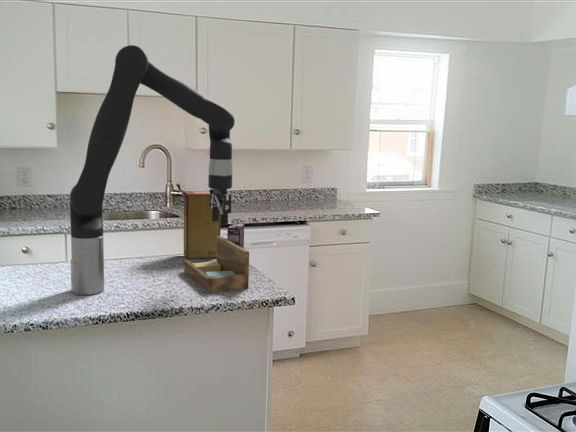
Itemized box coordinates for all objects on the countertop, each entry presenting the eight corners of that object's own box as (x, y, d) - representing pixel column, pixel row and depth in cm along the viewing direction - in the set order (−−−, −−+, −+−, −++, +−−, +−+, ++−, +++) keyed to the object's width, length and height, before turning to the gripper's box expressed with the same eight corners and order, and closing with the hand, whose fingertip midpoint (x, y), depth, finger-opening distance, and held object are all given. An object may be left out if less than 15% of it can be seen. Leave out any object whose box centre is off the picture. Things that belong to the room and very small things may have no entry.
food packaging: (215, 252, 235) (216, 190, 230) (220, 257, 226) (221, 193, 222) (182, 253, 230) (183, 190, 226) (186, 259, 222) (186, 194, 217)
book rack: (208, 292, 181) (209, 254, 179) (184, 271, 204) (184, 238, 202) (248, 288, 187) (249, 251, 185) (220, 268, 210) (220, 235, 208)
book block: (207, 288, 186) (208, 276, 185) (205, 283, 191) (205, 271, 190) (235, 287, 189) (235, 275, 188) (232, 282, 194) (232, 270, 193)
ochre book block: (194, 277, 199) (195, 267, 198) (190, 273, 204) (190, 263, 203) (220, 275, 202) (220, 265, 202) (215, 271, 207) (216, 261, 207)
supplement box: (231, 265, 215) (232, 223, 212) (244, 266, 214) (245, 223, 212) (226, 271, 206) (226, 227, 204) (239, 272, 206) (240, 228, 203)
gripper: (202, 171, 190) (201, 220, 192) (216, 175, 177) (215, 228, 180) (224, 171, 193) (223, 219, 196) (239, 175, 180) (238, 227, 183)
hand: (219, 223), depth 188 cm, fingers open, 8 cm apart
